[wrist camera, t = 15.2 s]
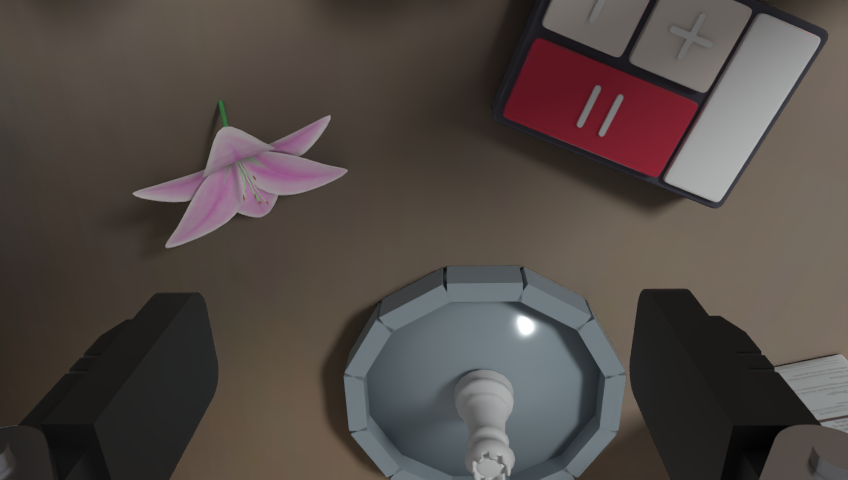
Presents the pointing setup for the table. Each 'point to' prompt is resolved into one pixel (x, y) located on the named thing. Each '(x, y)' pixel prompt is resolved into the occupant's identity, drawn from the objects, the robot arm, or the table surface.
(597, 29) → the calculator
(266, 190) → the lily
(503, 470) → the rook chess piece
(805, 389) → the supplement box
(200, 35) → the table surface
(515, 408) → the round tray
